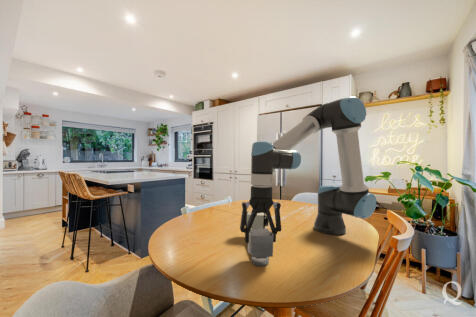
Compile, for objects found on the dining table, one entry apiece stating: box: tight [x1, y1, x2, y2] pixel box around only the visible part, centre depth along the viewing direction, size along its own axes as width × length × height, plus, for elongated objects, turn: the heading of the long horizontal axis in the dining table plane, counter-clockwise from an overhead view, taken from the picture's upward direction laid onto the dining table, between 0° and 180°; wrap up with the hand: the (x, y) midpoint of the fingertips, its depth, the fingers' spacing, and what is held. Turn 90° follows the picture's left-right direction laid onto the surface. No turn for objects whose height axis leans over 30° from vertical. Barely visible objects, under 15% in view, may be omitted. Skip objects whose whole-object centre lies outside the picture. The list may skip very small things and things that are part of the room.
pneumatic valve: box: [245, 211, 269, 229], centre depth 93 cm, size 6×12×12 cm, turn 78°
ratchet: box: [251, 256, 270, 268], centre depth 77 cm, size 6×20×7 cm, turn 7°
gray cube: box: [250, 228, 274, 258], centre depth 70 cm, size 7×7×7 cm
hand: (260, 251), depth 70 cm, fingers closed on gray cube, 7 cm apart
